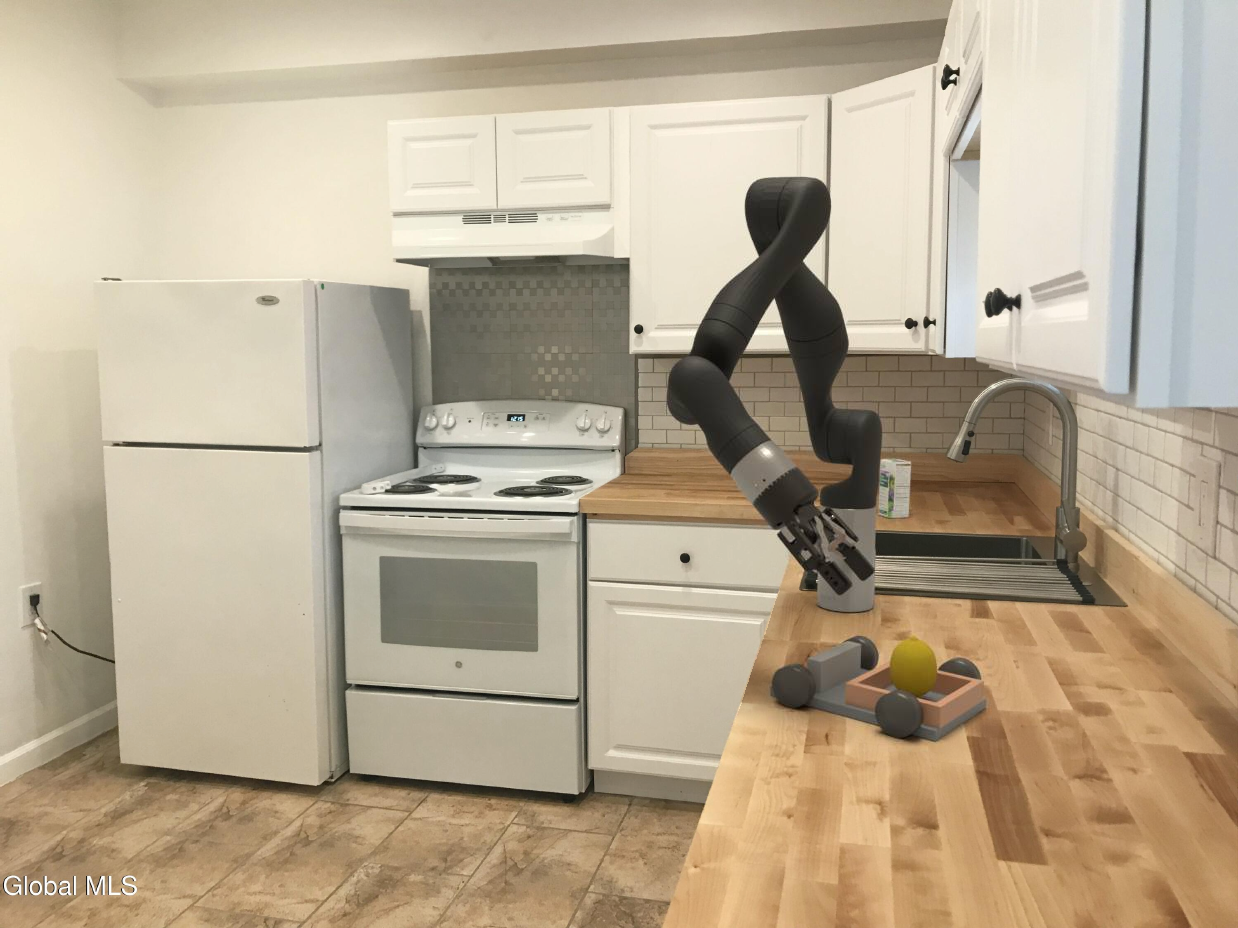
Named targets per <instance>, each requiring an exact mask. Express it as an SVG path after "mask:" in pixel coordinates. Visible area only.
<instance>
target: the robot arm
mask: <svg viewBox="0 0 1238 928" xmlns="http://www.w3.org/2000/svg"><path fill="white" fill-rule="evenodd" d="M831 213H832V199H831V195H830V191H829V189H828V187H827V185H826V184H825V183H824V182H823V181H822V179H821V180H820V179H818V178H816V177H811V176H810V177H809V176H777V177H774V176H772V177H762V178H759V179H756V180H755V181H753V182H752V183H751V184H750V186H749V187H748V189H747V192H746V194H745V199H744V218H745V223H746V228H747V231H748V233H749V236H750V239H751V242H752V243H753V246H754V248H755V251H756V254H757V255H758V257H757V258H756V259H754V260H753V261H752V262H751V263H750V264H749V265H748V266H746V267H745V268H744V269H743V270H741V271H740V272H738V273H737V274H736V275H735V276H734V277H733V278H732V279H730V280H729V281H728V282H727V283H726V284H725V285H724V286H723V287H722V288H721V289H720V290H719V292H718V293H717V294H716V295H715V297H714V298H713V300H712V301H711V303H710V306H709V307H708V309H707V310H706V313H705V314H704V316H703V318H702V320H701V322H700V324H699V326H698V328H697V330H696V332H695V336H694V338H693V342H692V347H691V349H690V352H689V354H688V356H686V357H683V358H681V359H679V360H678V361H677V362H676V363H674V365H673V366H672V367H671V370H670V371H669V374H668V378H667V390H666V405H667V408H668V411H669V413H670V414H671V416H672V417H673V418H674V419H675V420H676V421H678V422H679V423H681V424H684V425H685V426H686V425H687V426H695V425H698V426H699V428H700V430H701V431H702V433H703V434H704V436H705V440H706V444H707V448H708V450H709V451H710V453H711V454H712V455H713V457H714V458H715V459H716V461H717V462H718V463H719V464H720V465H721V466H722V468H723V469H724V470H725V471H726V472H727V473H728V475H729V476H730V477H731V479H732V480H733V482H734V483H735V485H736V486H737V488H738V490H739V491H740V492H741V494H743V496H744V497H745V498H746V499H747V500H748V502H749V503H750V504H751V505H752V506H753V508H755V510H756V511H757V512H758V514H759V515H760V516H761V517H762V518H763V520H764V521H765V522H766V523H767V524H768V525H769V526H770V528H771V529H773V530H775V531H778V532H777V534H776V535H777V537H778V539H779V540H780V541H781V542H782V544H783V545H784V546H785V548H786V549H787V551H788V552H790V554H791V555H792V557H793V558H794V559H795V560H796V561H797V563H798V564H799V565H800V566H801V568H802V569H803V570H804V571H805V572H807V573H809V572H811V571H812V572H814V573H815V574H817V595H816V596H817V598H816V600H817V602H816V603H817V606H819V607H821V608H823V609H825V610H829V611H834V612H842V613H844V612H845V613H856V612H857V613H859V612H866V611H869V610H871V609H872V608H873V607H874V604H875V593H876V591H875V590H876V589H875V585H876V559H877V557H876V555H877V553H876V552H877V550H876V528H877V527H876V526H877V525H876V523H877V521H876V520H877V519H876V518H877V496H878V491H879V485H880V465H881V456H882V446H883V426H882V420H881V417H880V416H879V414H878V413H877V412H876V411H874V410H871V409H856V408H855V409H853V408H837V407H836V406H835V405H834V403H833V401H832V395H831V394H832V393H831V391H832V388H833V384H834V382H835V379H836V377H837V376H838V374H839V373H840V370H841V369H842V366H843V364H844V363H845V360H846V358H847V355H848V352H849V346H850V344H849V343H850V342H849V341H850V340H849V337H848V336H849V335H848V332H847V327H846V323H845V319H844V315H843V312H842V309H841V305H840V303H839V302H838V300H837V299H836V297H835V296H834V295H833V293H831V291H830V290H829V289H828V288H827V287H826V285H825V284H824V283H823V281H821V280H820V279H819V278H818V276H816V275H815V274H814V272H813V271H812V270H811V269H810V268H809V266H808V265H807V264H806V263H805V259H806V258H807V256H808V255H809V253H811V251H813V248H814V247H815V246H816V245H817V243H818V242H819V240H820V239H821V238H822V236H823V234H824V233H825V230H826V228H827V226H828V224H829V221H830V218H831ZM774 300H775V304H776V308H777V311H778V314H779V318H780V322H781V326H782V331H783V333H784V334H783V335H784V337H785V341H786V344H787V348H788V351H789V355H790V357H791V361H792V363H793V366H794V370H795V373H796V376H797V380H798V384H799V385H798V386H799V388H800V391H801V396H802V400H803V407H804V412H805V417H806V423H807V429H808V433H809V439H810V443H811V447H812V450H813V452H814V454H815V456H816V457H817V458H818V460H819V461H821V462H823V463H827V464H836V465H848V466H849V465H850V466H852V469H851V473H850V475H849V476H848V477H847V478H845V479H844V480H841V481H839V482H835V483H834V482H833V483H831V484H828V485H825V486H823V487H822V488H821V489H820V491H819V490H818V489H817V488H816V486H815V485H814V484H813V482H811V480H810V479H809V478H808V477H807V476H806V475H805V473H804V472H803V471H802V470H801V469H800V468H799V467H798V466H797V464H796V463H795V462H794V461H793V460H792V459H791V458H790V457H789V455H788V454H787V453H786V452H785V451H784V450H783V449H782V448H781V447H779V446H778V445H777V444H776V443H775V442H774V441H773V440H772V439H771V438H770V437H769V435H767V433H766V432H765V431H764V430H763V428H762V427H761V426H760V425H759V424H758V423H757V422H756V421H755V419H754V418H752V417H751V415H750V413H748V410H747V409H746V407H745V406H744V403H743V402H742V400H741V398H740V397H739V395H738V394H737V392H736V391H735V389H734V387H733V386H732V384H731V382H730V381H731V378H732V375H733V373H734V370H735V368H736V366H737V364H738V363H739V360H740V359H741V357H742V356H743V354H744V352H745V351H746V349H747V347H748V345H749V343H750V342H751V340H752V337H753V336H754V335H755V332H756V330H757V328H758V326H759V324H760V322H761V321H762V319H763V317H764V315H765V314H766V311H768V309H769V307H770V306H771V304H772V303H773V301H774ZM818 498H819V508H818V507H817V506H815V501H816V500H817V499H818ZM780 529H781V530H780ZM779 530H780V531H779Z"/></svg>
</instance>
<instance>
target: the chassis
mask: <svg viewBox="0 0 1238 928" xmlns="http://www.w3.org/2000/svg"><path fill="white" fill-rule="evenodd" d="M879 654H880V653H879V650H878V648H877V646H876V645H875V643H874V642H873V640H871V639H870V638H869V637H867V636H863V635H855V636H852V637H850V638H848V639H845V640H844V641H842V642H841V643H839V644H838V645H835V646H833V647H830V648H829V649H825V650H824V651H822V652H819V653H816V654H815V655H813V656H810V657H807V658H806V666H804V665H803V664H800V663H789V664H787V665H785V666H783V667H780V668H778V669H777V670H776V671H775V672H774V674H773V675H772V680H771V685H770V692H769V693H770V694H769V695H770V696H771V697H774V698H776V700H778V701H779V703H781V704H782V705H783V706H785V707H787V708H792V709H793V708H794V709H795V708H799V707H801V706H807V707H811V708H815V709H818V710H822V711H826V712H829V713H832V714H837V715H840V716H844V717H848V718H850V719H854V720H858V721H861V722H865V723H869V724H872V725H875V726H879V727H880V729H881V730H882V731H883V732H884V733H885V734H887V735H888V736H890V737H892V738H896V739H900V738H901V739H903V738H906V737H908V736H910V735H912V736H915V737H919V738H922V739H925V740H929V741H932V742H933V741H934V742H937V741H938V740H940V739H941V738H943V737H944V736H945V735H947V734H948V733H950V732H952V731H953V730H955V729H956V728H958V727H959V726H961V725H962V724H963V723H966V722H967V721H969V720H970V719H971V718H973V717H974V716H977V714H979V713H980V712H982V711H983V710H985V709H986V708H987V707H986V706H987V698H985V697H984V685H985V684H984V683H985V681H984V680H982V675H981V672H980V670H979V668H978V666H976V664H975V663H974V662H972V661H971V660H970V659H967V658H965V657H960V656H957V657H953V658H950V659H949V660H947V661H945V662H943V663H941V665H940V666H939V667H937V677H936V681H935V684H934V686H933V688H932V689H931V690H930V691H929V692H928V693H927V694H925V695H923V696H920V697H918V698H916V697H915V696H914V695H913V694H911V693H910V692H908V691H905V690H897V689H896V688H895V686H894V685H893V683H892V680H891V676H890V660H889V661H888V662H885V663H883V664H882V665H879V666H878V663H879V660H880V659H879V658H880V655H879Z"/></svg>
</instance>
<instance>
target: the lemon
mask: <svg viewBox="0 0 1238 928" xmlns="http://www.w3.org/2000/svg"><path fill="white" fill-rule="evenodd" d="M889 661H890V676H891V680H892V683H893V685H894V686H895V688H896V689H897V690H905V691H908V692H910V693H911V694H913V695H914V696H915V697H916V698H918V697H920V696H923V695H925V694H927V693H928V692H929V691H930V690H931V689H932V688H933V686H934V684H935V681H936V677H937V670H938V663H937V659H936V655H935V653H934V650H933V649H932V647H931V646H930V645H929V644H928V643H926V642H925V641H923V640H921V639H919V638H918V637H917V636H914V635H912V636H910V637H909V638H907V639H904V640H902V641H900V642H898V644H896V646H895V647H894V648H893V650H892V653H891V655H890V660H889Z"/></svg>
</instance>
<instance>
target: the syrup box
mask: <svg viewBox="0 0 1238 928" xmlns="http://www.w3.org/2000/svg"><path fill="white" fill-rule="evenodd" d="M911 473H912V461H908V460H903V459H899V458H882V459H880V469H879V486H878V491H879V492H878V508H877V509H878V510H877V511H878V516H882V517H885V518H888V519H900V518H901V519H902V518H909V516H910V515H909V514H910V495H911Z"/></svg>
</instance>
